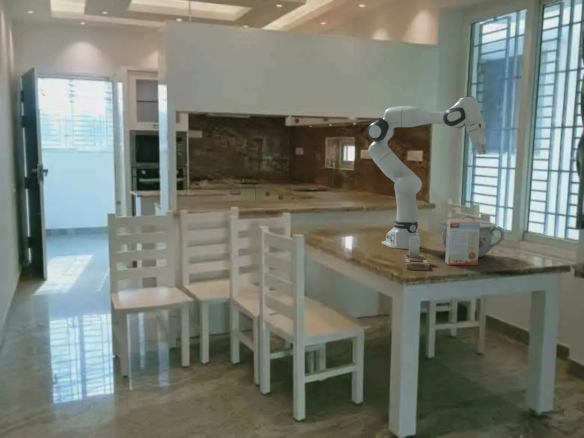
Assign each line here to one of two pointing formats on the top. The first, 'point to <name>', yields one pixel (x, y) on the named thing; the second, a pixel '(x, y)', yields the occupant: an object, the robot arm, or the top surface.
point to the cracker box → (462, 242)
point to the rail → (415, 262)
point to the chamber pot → (484, 234)
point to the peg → (414, 246)
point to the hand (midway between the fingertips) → (482, 153)
